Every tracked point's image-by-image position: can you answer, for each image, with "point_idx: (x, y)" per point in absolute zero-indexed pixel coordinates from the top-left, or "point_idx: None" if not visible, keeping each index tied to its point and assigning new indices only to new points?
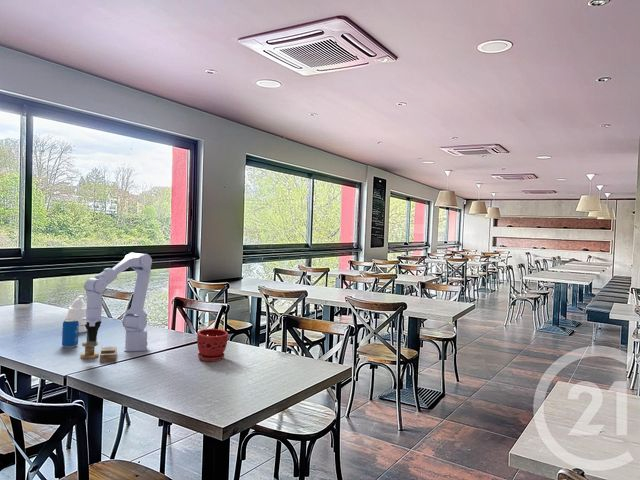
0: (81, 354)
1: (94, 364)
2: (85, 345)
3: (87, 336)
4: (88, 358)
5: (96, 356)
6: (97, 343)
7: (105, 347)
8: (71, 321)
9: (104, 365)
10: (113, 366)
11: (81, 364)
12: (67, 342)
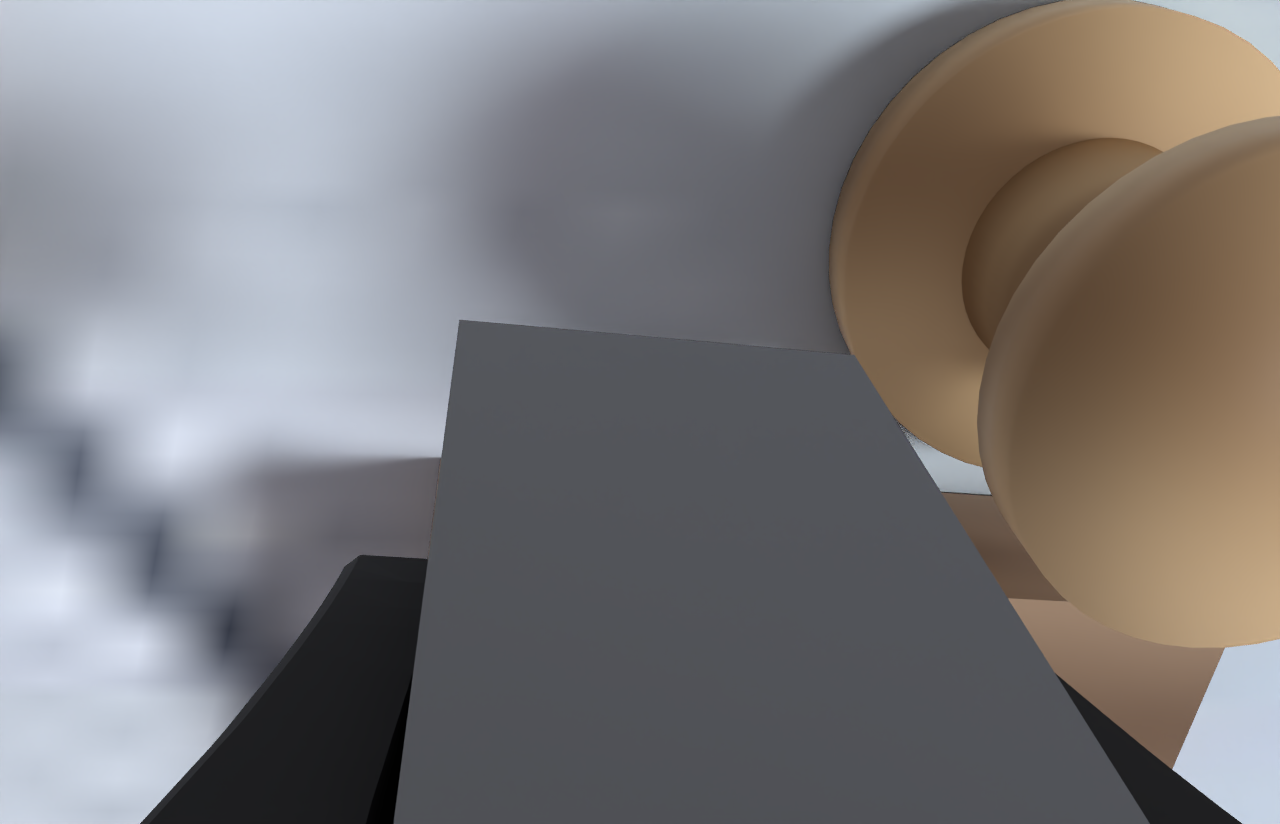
0: (1175, 41)
1: (265, 340)
2: (1087, 245)
3: (421, 617)
4: (838, 214)
5: (892, 411)
6: (1132, 624)
7: (1186, 687)
8: None
9: (133, 547)
10: (23, 707)
11: (331, 9)
12: None
